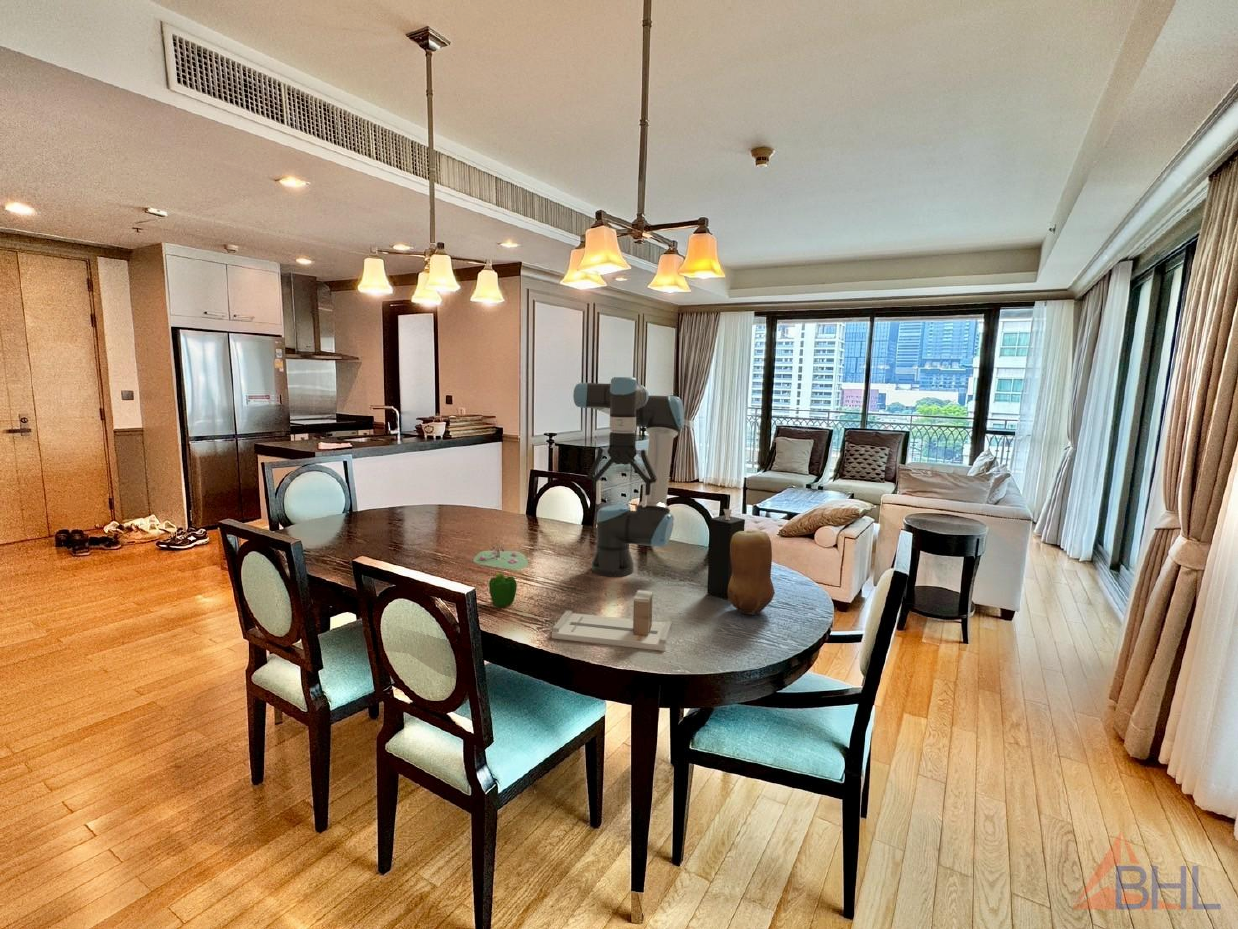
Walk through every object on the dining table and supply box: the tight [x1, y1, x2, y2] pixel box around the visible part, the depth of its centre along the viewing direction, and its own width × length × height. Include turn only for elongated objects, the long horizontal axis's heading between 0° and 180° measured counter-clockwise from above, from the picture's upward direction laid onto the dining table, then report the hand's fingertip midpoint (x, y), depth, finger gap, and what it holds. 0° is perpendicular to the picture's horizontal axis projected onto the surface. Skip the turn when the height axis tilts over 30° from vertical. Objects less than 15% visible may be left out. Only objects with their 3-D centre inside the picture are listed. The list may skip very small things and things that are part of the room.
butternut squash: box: [728, 529, 776, 616], centre depth 174 cm, size 14×13×25 cm
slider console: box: [551, 610, 673, 652], centre depth 160 cm, size 14×30×2 cm, turn 78°
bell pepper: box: [488, 572, 518, 608], centre depth 179 cm, size 8×8×10 cm
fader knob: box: [632, 589, 653, 636], centre depth 157 cm, size 6×4×10 cm, turn 168°
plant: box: [473, 536, 530, 571], centre depth 221 cm, size 25×21×9 cm
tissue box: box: [706, 508, 746, 600], centre depth 189 cm, size 8×8×28 cm
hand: (621, 504), depth 172 cm, fingers open, 13 cm apart
